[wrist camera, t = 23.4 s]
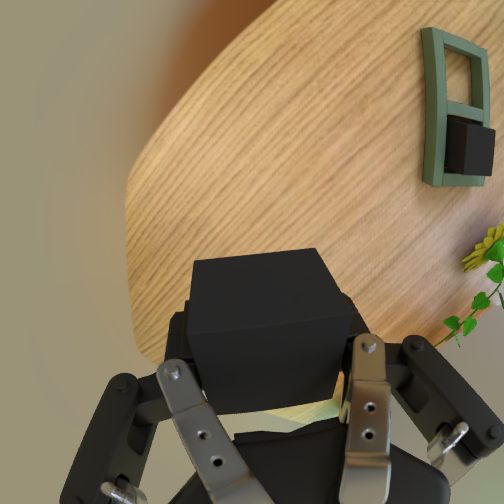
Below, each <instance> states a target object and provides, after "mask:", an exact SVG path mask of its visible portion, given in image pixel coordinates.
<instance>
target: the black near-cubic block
mask: <svg viewBox="0 0 504 504" xmlns="http://www.w3.org/2000/svg"><path fill="white" fill-rule="evenodd" d="M494 147H495V130H494V129H490V128H487V127H483V126H479V125H476V124H472V123H467V122H462V121H457V120H451V119H447V127H446V147H445V160H444V167H446V168H448V169H451V170H453V171H455V172H457V173H459V174H462V175H472V176H491V175H492V167H493V158H494Z"/></svg>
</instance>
